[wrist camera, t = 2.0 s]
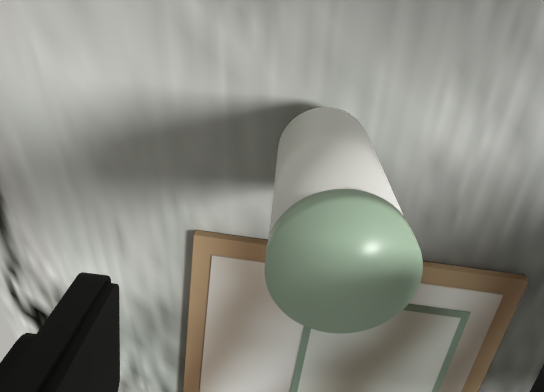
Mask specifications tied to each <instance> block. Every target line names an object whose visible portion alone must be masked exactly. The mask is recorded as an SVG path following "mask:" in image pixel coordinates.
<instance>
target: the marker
mask: <svg viewBox="0 0 544 392" xmlns="http://www.w3.org/2000/svg"><path fill="white" fill-rule="evenodd" d="M422 272H423V259H422V254H421V250H420V247H419V245H418V242H417V240H416V238H415V235H414V233H413V231H412V229H411V227H410V225H409V223H408V221H407V220H406V218H405V217H404V216H403V213H402V211H401V209H400V207H399V204H398V202H397V200H396V198H395V195H394V193H393V191H392V189H391V186H390V184H389V182H388V180H387V177H386V175H385V173H384V171H383V168H382V166H381V164H380V162H379V159H378V157H377V155H376V153H375V150H374V148H373V146H372V144H371V141H370V139H369V137H368V135H367V132H366V130H365V129H364V127H363V125H362V124H361V123H360V122H359V121H358V120H357V119H356V118H355V117H354V116H352V115H351V114H349V113H347V112H345V111H343V110H340V109H337V108H331V107H320V108H314V109H311V110H307V111H305V112H303V113H301V114H300V115H298V116H296V117H295V118H294V119H293V120H292V121H291V122H290V123H289V124H288V125H287V126H286V128H285V129H284V131H283V133H282V135H281V137H280V140H279V144H278V153H277V163H276V173H275V184H274V194H273V204H272V214H271V225H270V235H269V238H268V242H267V247H266V257H265V268H264V273H265V281H266V285H267V288H268V291H269V293H270V295H271V297H272V299H273V300H274V302H275V303H276V305H277V306H278V307H279V308H280V309H281V310H282V311H283V312H284V313H285V314H286V315H287V316H288V317H290V318H291V319H292V320H294V321H296V322H297V323H299V324H301V325H303V326H306V327H308V328H311V329H314V330H317V331H322V332H327V333H337V334H339V333H355V332H360V331H365V330H368V329H371V328H374V327H377V326H379V325H381V324H383V323H385V322H387V321H389V320H390V319H392V318H393V317H395V316H396V315H397V314H399V313H400V312H401V311H402V310H403V309H404V308H405V307H406V306H407V305H408V304H409V302H410V301H411V300H412V299H413V297H414V295H415V294H416V292H417V290H418V287H419V285H420V282H421V278H422Z"/></svg>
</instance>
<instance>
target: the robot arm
mask: <svg viewBox="0 0 544 392" xmlns="http://www.w3.org/2000/svg"><path fill="white" fill-rule="evenodd" d="M119 382H120V339H119V286H118V284H113V283H111V279H110V277H109V276H107V275H99V274H91V273H80V274H79V275H78V276H77V277H76V279H75V280H74V281H73V283H72V284H71V286H70V287H69V289H68V290H67V291H66V293H65V294H64V296H63V297H62V299H61V300H60V301H59V303H58V304H57V306H56V307H55V309H54V310H53V311H52V313H51V314H50V316H49V317H48V319H47V320H46V321H45V323H44V324H43V326H42V327H41V328H40V330H39V331H38V333H37V334H32V333H26V334H24V335H22V336H21V337H20V338H19V339H18V340H17V341H16V342H15V344H14V345H13V347H12V348H11V349H10V351H9V352H8V354H7V355H6V356H5V357H4V359H3V360H2V362H1V363H0V392H118V388H119ZM530 392H544V365H543V367H542V369H541V371H540V373H539V375H538V377H537V379H536V381H535V383H534V385H533V387H532V389H531V391H530Z"/></svg>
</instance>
